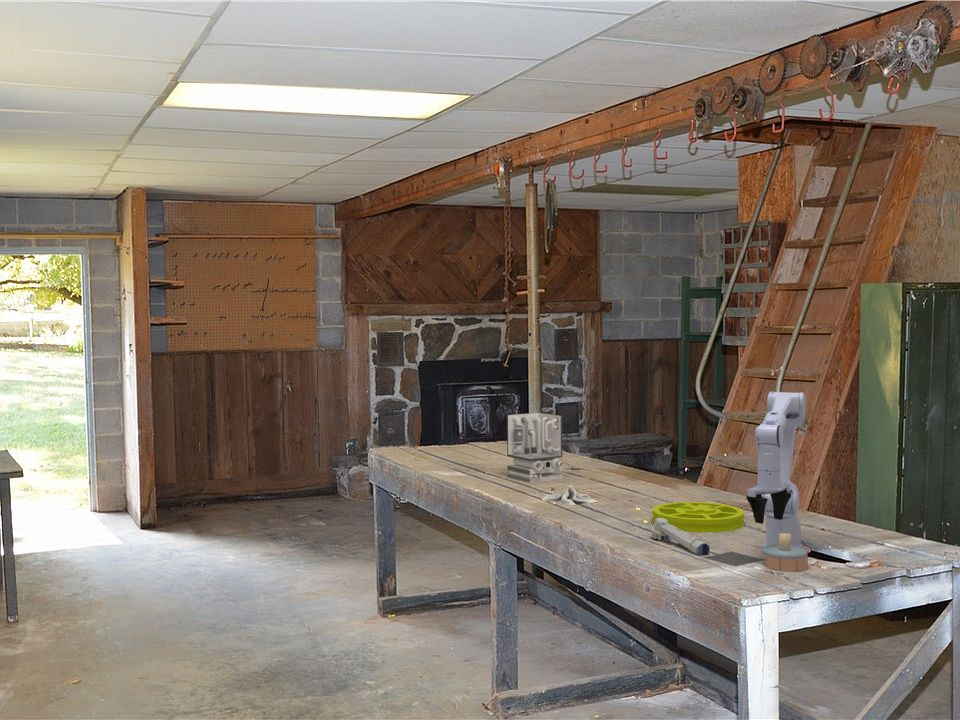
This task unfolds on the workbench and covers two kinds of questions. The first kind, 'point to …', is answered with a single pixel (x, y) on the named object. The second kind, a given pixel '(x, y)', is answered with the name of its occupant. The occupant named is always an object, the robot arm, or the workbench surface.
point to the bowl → (786, 563)
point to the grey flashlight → (678, 537)
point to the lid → (784, 549)
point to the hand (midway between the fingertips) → (768, 521)
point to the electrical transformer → (534, 446)
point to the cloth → (569, 497)
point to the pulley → (700, 516)
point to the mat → (733, 558)
